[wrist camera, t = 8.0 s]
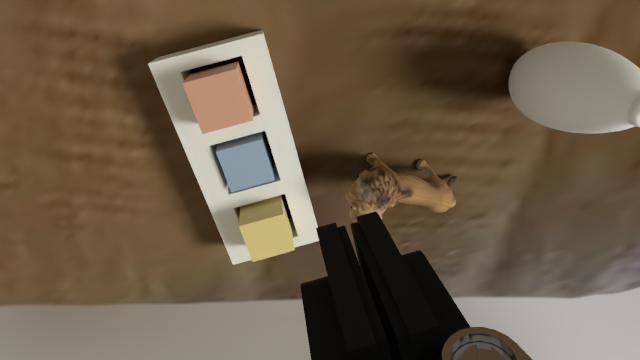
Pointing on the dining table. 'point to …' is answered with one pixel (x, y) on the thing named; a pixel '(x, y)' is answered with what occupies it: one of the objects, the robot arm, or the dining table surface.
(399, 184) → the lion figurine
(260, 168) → the blue button
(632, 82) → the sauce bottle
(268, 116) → the button board
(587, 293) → the dining table surface
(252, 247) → the ochre button
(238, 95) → the terracotta button
